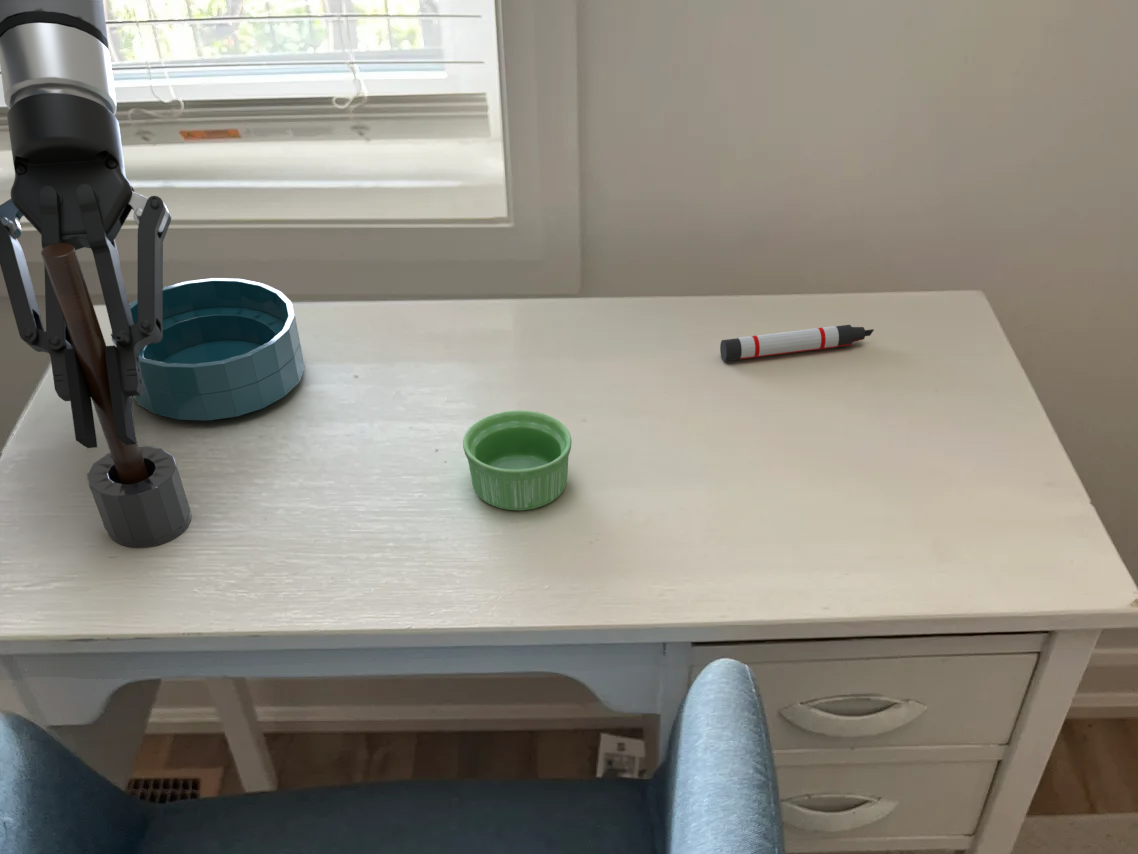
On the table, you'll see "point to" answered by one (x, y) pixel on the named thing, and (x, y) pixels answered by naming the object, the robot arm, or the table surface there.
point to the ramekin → (518, 459)
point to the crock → (141, 500)
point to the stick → (90, 352)
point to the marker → (791, 342)
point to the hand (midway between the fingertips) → (106, 441)
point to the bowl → (220, 350)
